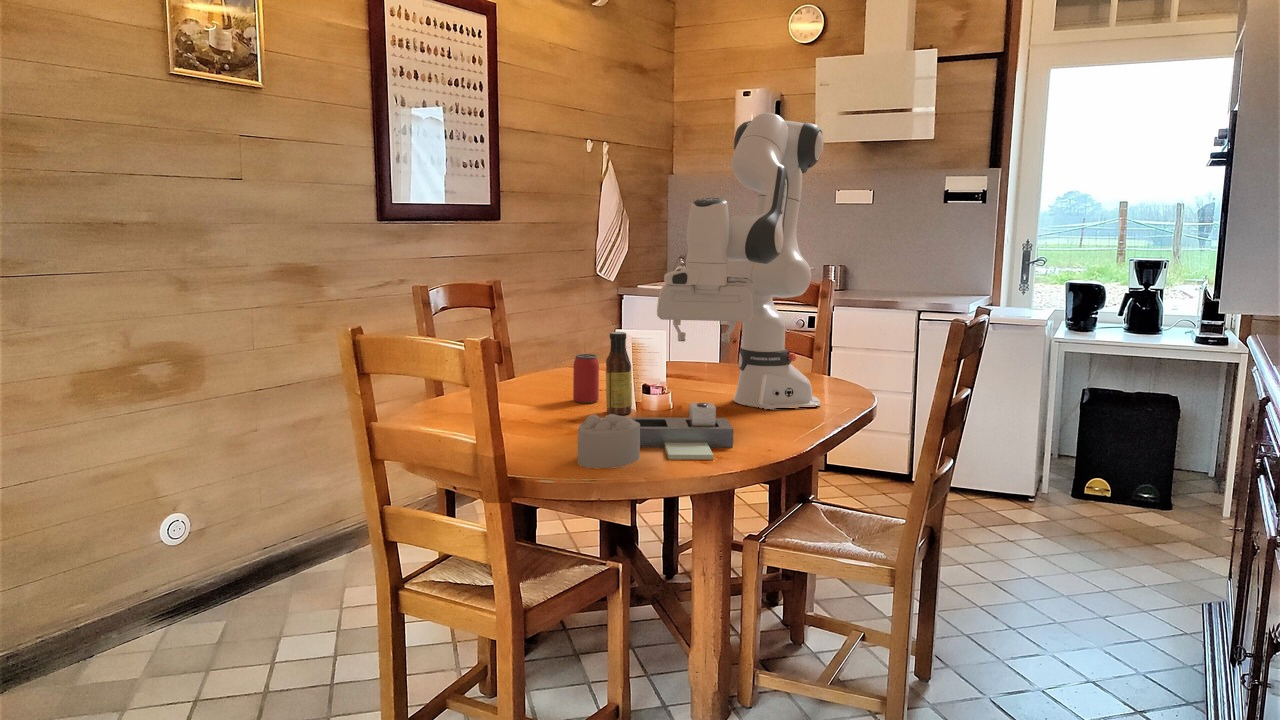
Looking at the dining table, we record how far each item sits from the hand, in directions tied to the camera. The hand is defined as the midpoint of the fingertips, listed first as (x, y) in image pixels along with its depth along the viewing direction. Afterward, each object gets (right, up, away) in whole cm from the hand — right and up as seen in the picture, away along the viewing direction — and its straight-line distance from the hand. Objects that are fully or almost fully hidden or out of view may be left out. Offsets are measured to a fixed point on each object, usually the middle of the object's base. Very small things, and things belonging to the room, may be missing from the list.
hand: (703, 341), depth 182 cm
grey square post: (0, -22, +3) cm, 22 cm away
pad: (-4, -23, -6) cm, 24 cm away
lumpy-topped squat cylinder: (-20, -24, -12) cm, 34 cm away
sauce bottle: (-19, -17, +28) cm, 38 cm away
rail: (-6, -21, +3) cm, 23 cm away
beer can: (-28, -15, +41) cm, 51 cm away
